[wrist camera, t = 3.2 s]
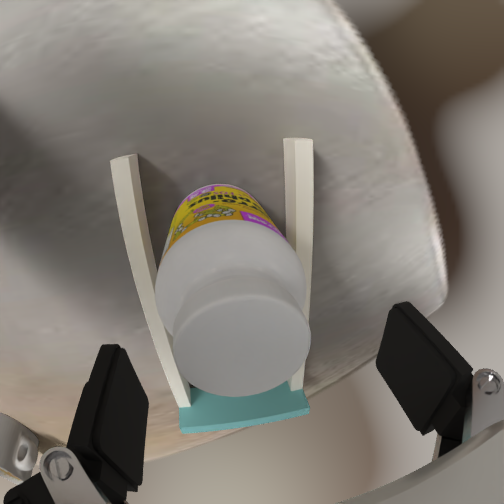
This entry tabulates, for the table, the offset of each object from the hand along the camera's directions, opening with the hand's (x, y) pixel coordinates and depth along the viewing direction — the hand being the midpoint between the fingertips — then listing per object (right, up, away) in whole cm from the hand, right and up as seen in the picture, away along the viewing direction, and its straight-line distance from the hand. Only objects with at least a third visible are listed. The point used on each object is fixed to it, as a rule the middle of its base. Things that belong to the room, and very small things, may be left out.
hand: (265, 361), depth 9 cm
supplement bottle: (-3, +6, +12) cm, 13 cm away
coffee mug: (-40, -26, +19) cm, 51 cm away
